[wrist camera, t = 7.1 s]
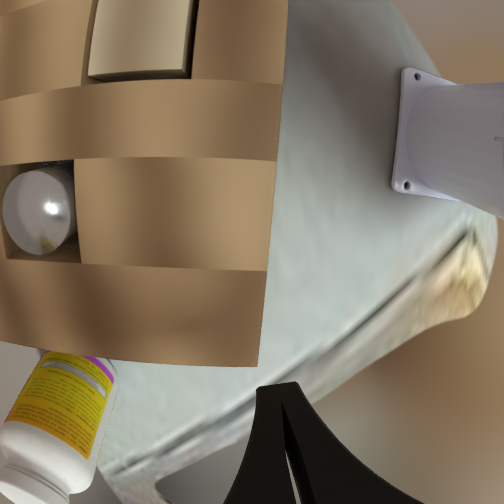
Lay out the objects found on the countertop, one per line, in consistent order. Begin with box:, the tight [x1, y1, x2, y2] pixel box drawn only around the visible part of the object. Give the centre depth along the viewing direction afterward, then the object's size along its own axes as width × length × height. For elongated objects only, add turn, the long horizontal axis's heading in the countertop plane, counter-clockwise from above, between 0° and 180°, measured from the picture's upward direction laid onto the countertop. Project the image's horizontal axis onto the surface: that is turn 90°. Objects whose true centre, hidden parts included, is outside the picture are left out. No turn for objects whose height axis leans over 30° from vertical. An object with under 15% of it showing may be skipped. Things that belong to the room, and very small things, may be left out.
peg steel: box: [2, 159, 78, 255], centre depth 15 cm, size 4×4×5 cm
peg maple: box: [88, 0, 198, 83], centre depth 12 cm, size 4×4×5 cm
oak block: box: [0, 0, 289, 367], centre depth 14 cm, size 16×22×5 cm
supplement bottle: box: [0, 350, 119, 504], centre depth 16 cm, size 7×7×13 cm
